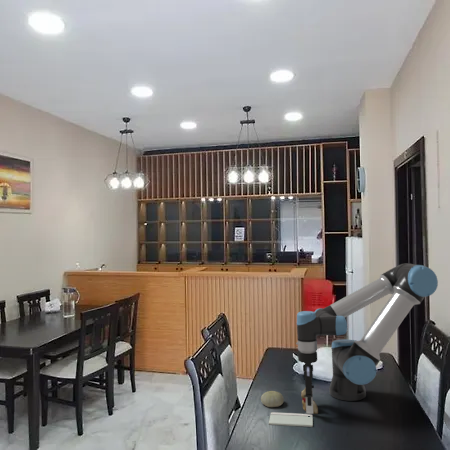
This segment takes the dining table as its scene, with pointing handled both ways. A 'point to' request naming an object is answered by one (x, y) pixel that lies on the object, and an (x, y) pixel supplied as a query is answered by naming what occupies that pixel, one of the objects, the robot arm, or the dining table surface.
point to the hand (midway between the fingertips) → (309, 408)
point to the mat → (291, 420)
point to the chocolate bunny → (315, 408)
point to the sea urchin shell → (272, 399)
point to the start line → (291, 414)
